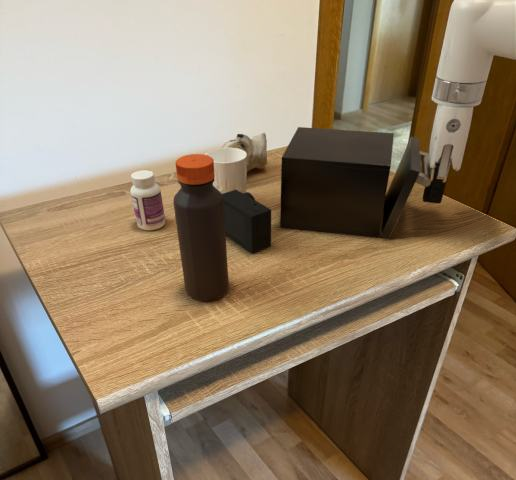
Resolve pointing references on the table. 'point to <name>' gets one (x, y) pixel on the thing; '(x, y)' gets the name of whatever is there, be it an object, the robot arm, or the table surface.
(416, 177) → the oven door
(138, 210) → the pill bottle
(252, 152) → the ceramic sculpture
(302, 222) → the oven
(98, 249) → the table surface
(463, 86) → the robot arm
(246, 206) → the digital camera
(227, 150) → the white cup
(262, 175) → the table surface
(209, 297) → the vinegar
